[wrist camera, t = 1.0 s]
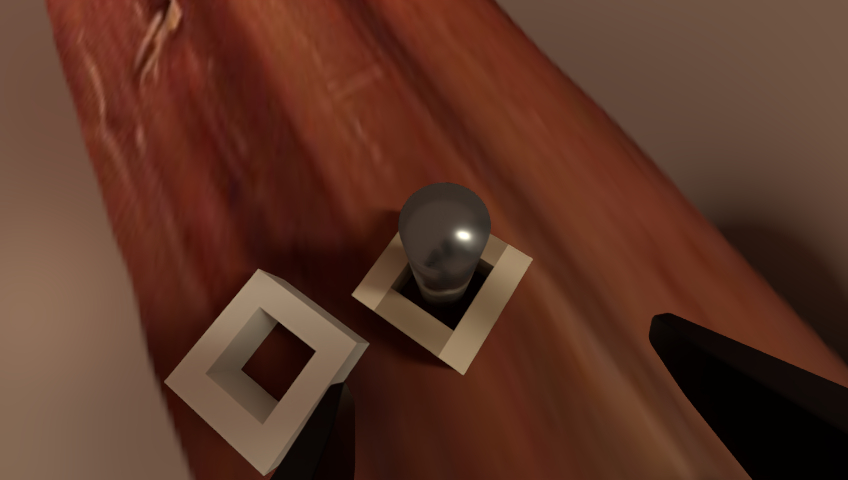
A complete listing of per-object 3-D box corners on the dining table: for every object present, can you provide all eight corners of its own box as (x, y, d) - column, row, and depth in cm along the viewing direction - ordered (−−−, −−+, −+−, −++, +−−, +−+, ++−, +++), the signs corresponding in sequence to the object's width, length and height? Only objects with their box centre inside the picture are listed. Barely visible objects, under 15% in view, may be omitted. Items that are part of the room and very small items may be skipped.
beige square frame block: (459, 370, 21) (463, 375, 18) (364, 302, 23) (351, 295, 20) (519, 271, 23) (533, 258, 20) (427, 215, 25) (425, 195, 21)
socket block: (293, 454, 20) (263, 475, 17) (205, 376, 22) (164, 381, 19) (369, 343, 22) (357, 343, 19) (283, 279, 24) (258, 268, 20)
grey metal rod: (448, 318, 22) (458, 287, 10) (411, 293, 23) (380, 236, 11) (473, 280, 23) (507, 211, 11) (435, 257, 24) (431, 167, 12)
